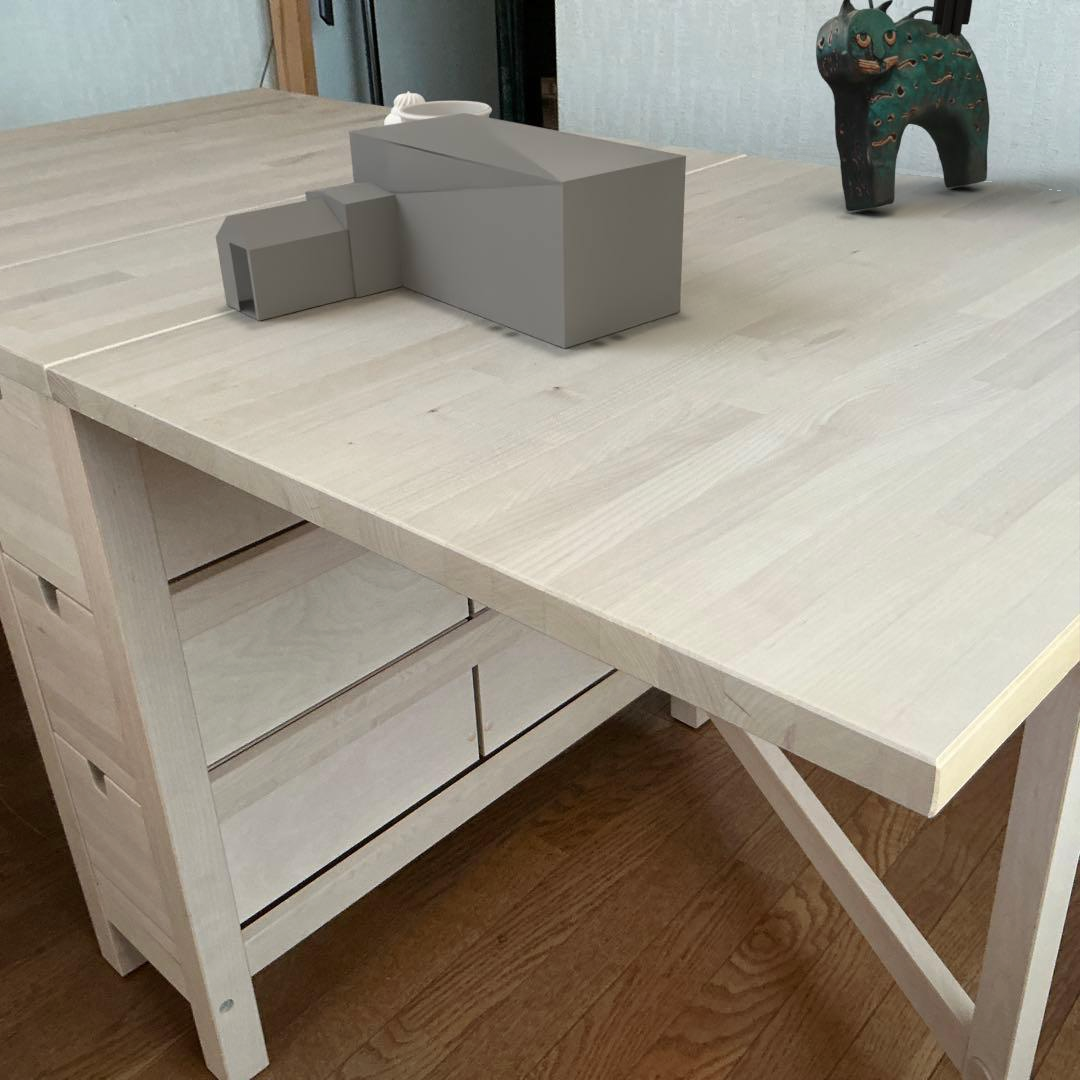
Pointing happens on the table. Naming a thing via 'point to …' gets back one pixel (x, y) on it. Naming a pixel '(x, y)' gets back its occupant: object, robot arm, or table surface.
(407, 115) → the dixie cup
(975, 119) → the ceramic cat
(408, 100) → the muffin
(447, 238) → the stepped duct adapter
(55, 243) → the table surface
